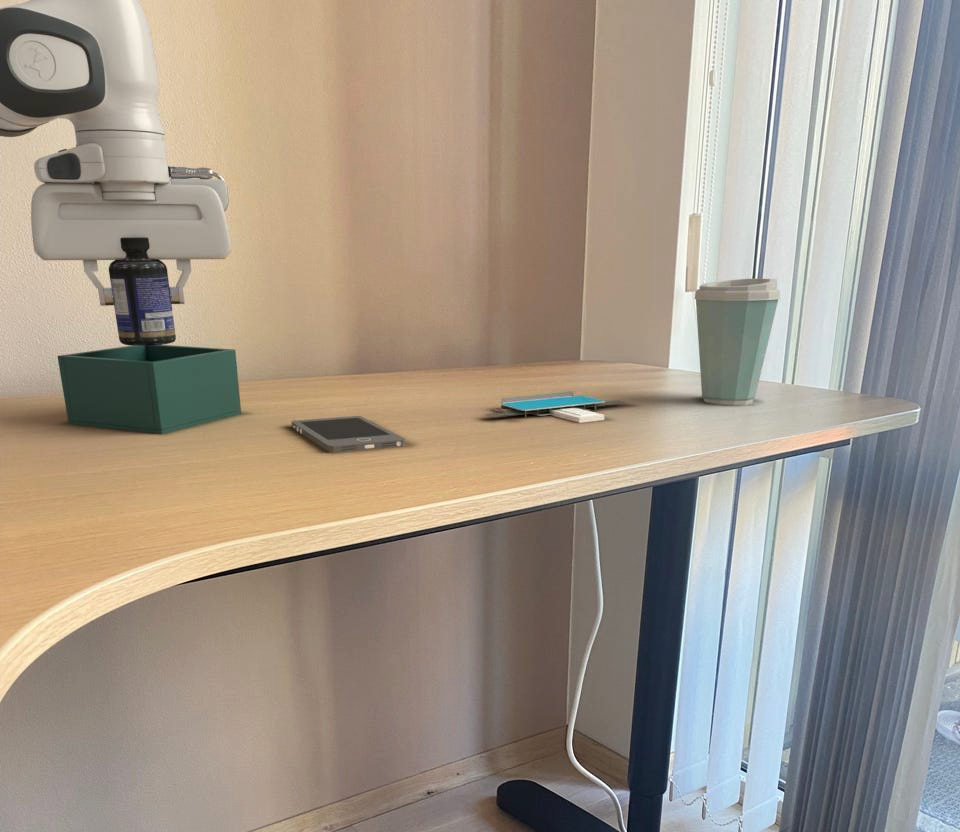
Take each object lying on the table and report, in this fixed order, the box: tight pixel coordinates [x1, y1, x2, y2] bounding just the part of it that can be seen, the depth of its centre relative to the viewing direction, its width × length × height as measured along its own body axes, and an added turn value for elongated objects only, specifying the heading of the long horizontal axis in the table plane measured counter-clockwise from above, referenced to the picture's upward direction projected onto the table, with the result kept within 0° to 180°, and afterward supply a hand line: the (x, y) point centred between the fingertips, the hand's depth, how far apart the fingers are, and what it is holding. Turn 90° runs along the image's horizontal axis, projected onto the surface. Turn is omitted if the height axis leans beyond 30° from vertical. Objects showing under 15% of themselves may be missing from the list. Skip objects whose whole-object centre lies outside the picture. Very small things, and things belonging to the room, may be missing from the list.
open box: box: [57, 344, 242, 435], centre depth 109 cm, size 14×14×8 cm
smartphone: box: [291, 415, 406, 454], centre depth 102 cm, size 15×8×1 cm, turn 25°
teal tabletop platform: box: [485, 390, 625, 424], centre depth 115 cm, size 20×12×2 cm, turn 121°
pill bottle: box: [108, 237, 177, 346], centre depth 105 cm, size 6×6×11 cm
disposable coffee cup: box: [693, 278, 781, 406], centre depth 121 cm, size 11×11×15 cm
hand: (142, 304), depth 106 cm, fingers closed on pill bottle, 6 cm apart
